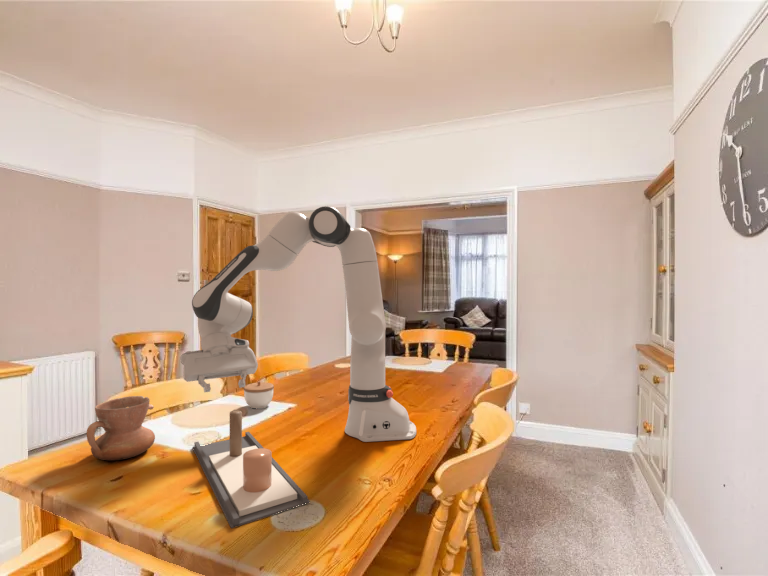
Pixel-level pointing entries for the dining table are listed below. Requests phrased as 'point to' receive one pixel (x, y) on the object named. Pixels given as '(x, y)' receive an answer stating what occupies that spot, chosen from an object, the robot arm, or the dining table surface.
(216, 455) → the wooden peg stand
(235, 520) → the grey rimmed tray
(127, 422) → the ceramic jug
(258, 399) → the lidded jar
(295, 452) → the dining table surface
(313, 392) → the dining table surface
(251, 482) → the pink pillar candle
